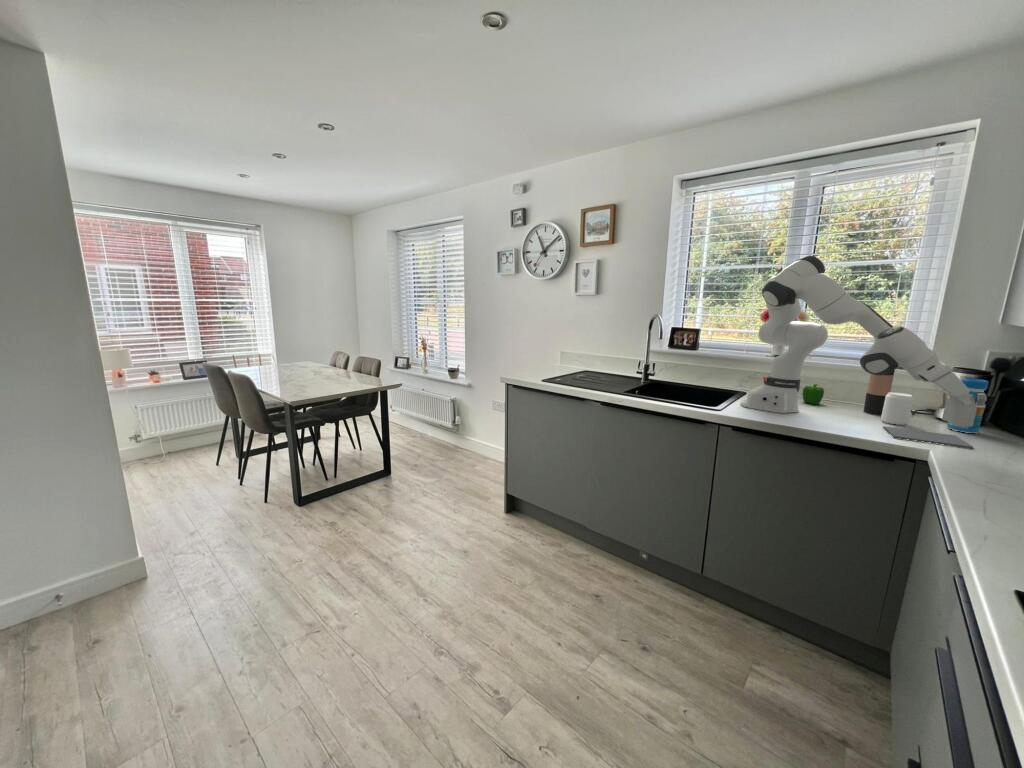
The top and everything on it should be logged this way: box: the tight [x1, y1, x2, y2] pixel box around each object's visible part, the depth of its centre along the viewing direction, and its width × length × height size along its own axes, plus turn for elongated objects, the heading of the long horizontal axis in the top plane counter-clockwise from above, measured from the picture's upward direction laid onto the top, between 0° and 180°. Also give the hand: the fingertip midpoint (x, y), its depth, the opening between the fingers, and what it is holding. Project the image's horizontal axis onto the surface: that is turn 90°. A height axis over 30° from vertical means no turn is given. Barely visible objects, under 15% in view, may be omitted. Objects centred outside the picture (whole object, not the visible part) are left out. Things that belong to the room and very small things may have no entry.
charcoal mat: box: [882, 426, 974, 450], centre depth 146 cm, size 20×14×1 cm
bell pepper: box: [802, 382, 825, 405], centre depth 194 cm, size 8×8×10 cm
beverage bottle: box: [946, 377, 989, 434], centre depth 154 cm, size 8×8×20 cm
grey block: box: [941, 393, 977, 426], centre depth 129 cm, size 4×7×10 cm, turn 166°
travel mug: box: [863, 369, 896, 416], centre depth 178 cm, size 8×8×20 cm
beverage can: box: [880, 391, 914, 426], centre depth 163 cm, size 8×8×12 cm
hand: (962, 400), depth 129 cm, fingers closed on grey block, 7 cm apart
